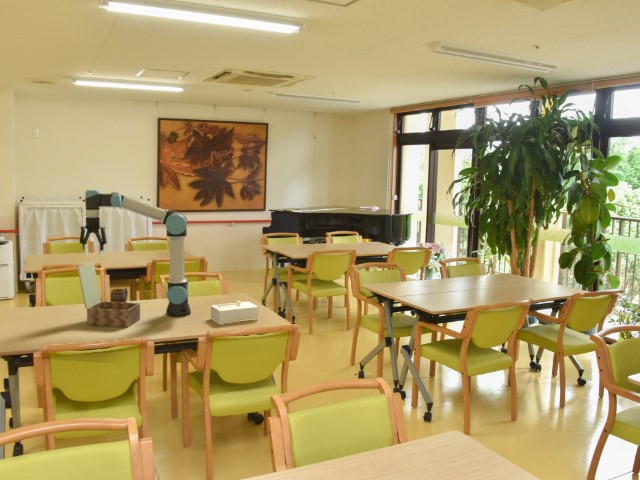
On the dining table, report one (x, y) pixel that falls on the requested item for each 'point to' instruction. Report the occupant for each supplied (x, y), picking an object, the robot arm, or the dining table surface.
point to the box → (113, 314)
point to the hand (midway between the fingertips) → (93, 255)
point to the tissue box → (234, 312)
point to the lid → (89, 284)
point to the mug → (119, 295)
